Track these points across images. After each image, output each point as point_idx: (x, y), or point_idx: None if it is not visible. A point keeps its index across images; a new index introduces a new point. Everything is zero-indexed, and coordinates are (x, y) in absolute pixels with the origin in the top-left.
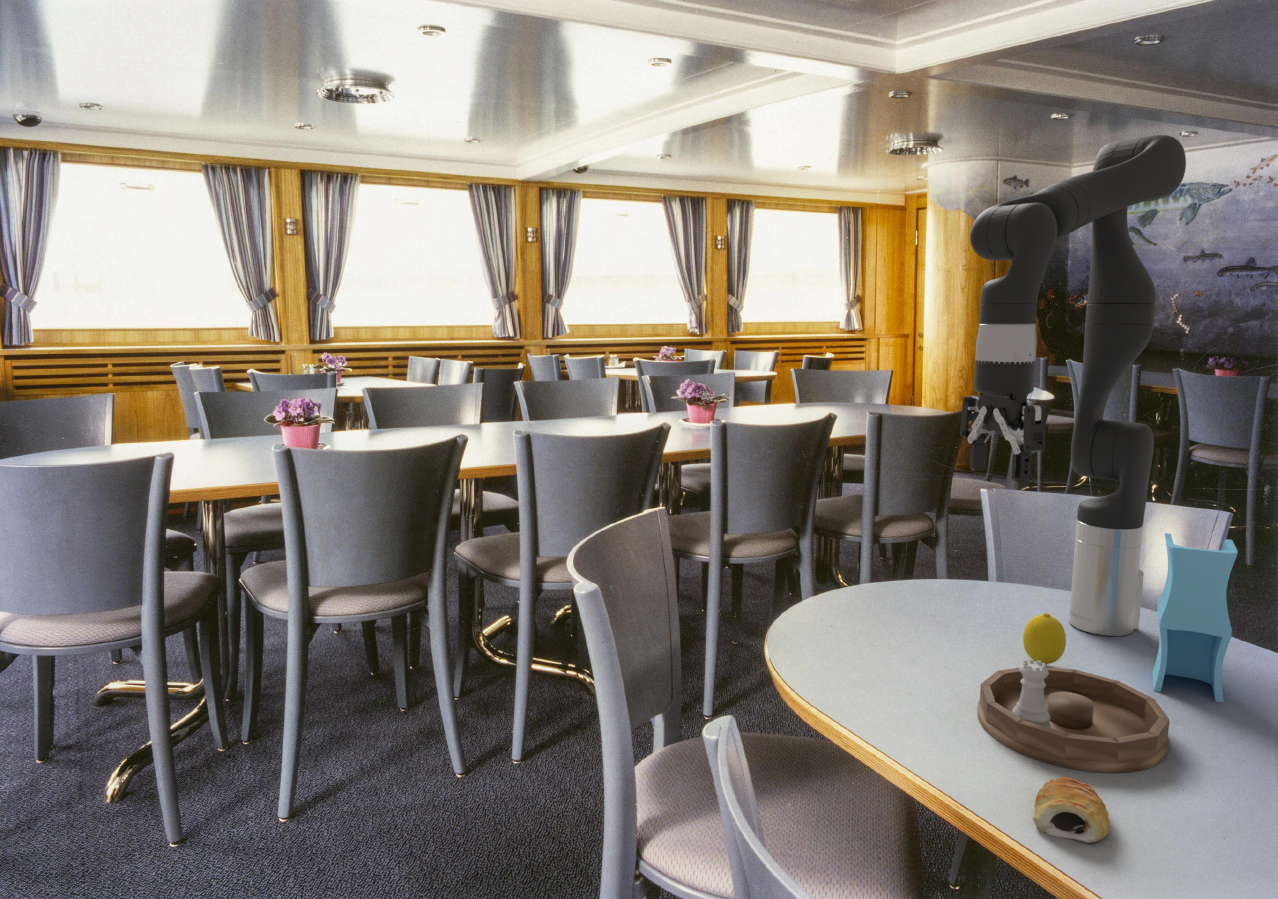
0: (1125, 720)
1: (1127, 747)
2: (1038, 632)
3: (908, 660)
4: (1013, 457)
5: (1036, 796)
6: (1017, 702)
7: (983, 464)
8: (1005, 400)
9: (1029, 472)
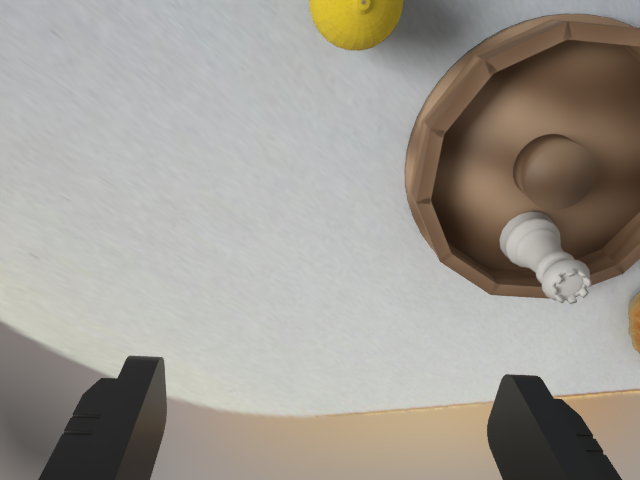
0: (601, 81)
1: None
2: (374, 44)
3: (231, 225)
4: None
5: (636, 349)
6: (517, 258)
7: (157, 392)
8: None
9: (585, 429)
